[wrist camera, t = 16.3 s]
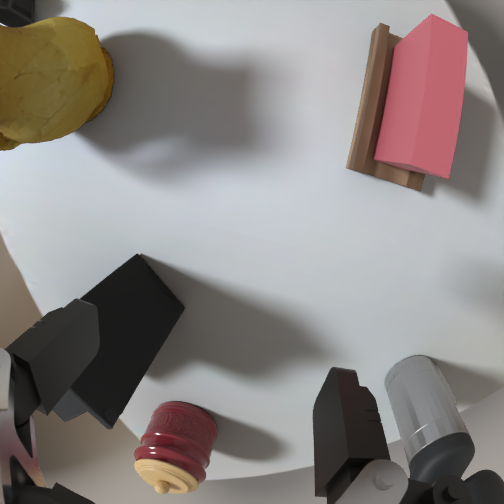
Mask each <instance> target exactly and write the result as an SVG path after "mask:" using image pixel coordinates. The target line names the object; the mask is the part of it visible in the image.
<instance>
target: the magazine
mask: <svg viewBox="0 0 504 504" xmlns="http://www.w3.org/2000/svg"><path fill="white" fill-rule="evenodd" d="M33 6H34V0H0V23H2V24H4V25H6V26H8V27H12V28H17V27H24V26H27V25H31V24H33V23H34V21H33Z"/></svg>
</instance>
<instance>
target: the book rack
mask: <svg viewBox="0 0 504 504" xmlns="http://www.w3.org/2000/svg"><path fill="white" fill-rule="evenodd" d="M389 27H390V26H388V25H385V24H382V23H380V24H379V25H378V26H377V28H375V29H374V30H373V32H372V37H371V44H370V50H369V56H368V62H367V68H366V74H365V79H364V85H363V90H362V95H361V101H360V106H359V111H358V116H357V120H356V125H355V130H354V134H353V139H352V143H351V148H350V152H349V157H348V161H347V165H346V168H348V169H351V170H355V171H358V172H362V173H365V174H368V175H372V176H375V177H378V178H382V179H385V180H388V181H391V182H394V183H397V184H400V185H403V186H406V187H409V188H412V189H415V190H418V191H421V187H422V183H423V179H424V175H425V174H424V173H419V172H415V171H410V170H405V169H401V168H398V167H395V166H392V165H389V164H386V163H383V162H380V161H376V160H373V159H372V158H373V153H374V149H375V144H376V140H377V135H378V130H379V126H380V121H381V116H382V111H383V105H384V100H385V94H386V89H387V83H388V77H389V71H390V64H391V57H392V50H393V48H394V47H395V46H396V45H397V44H398V43H399V42H400V41H401V40H402V39H403V38H401V37H398V36H396V35H393V34H390V33H389Z"/></svg>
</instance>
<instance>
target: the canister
mask: <svg viewBox="0 0 504 504" xmlns="http://www.w3.org/2000/svg"><path fill="white" fill-rule="evenodd" d="M216 437H217V426H216V423H215V421H214V420H213V418H212V417H211V416H210V415H209V414H208V413H206V412H205V411H203V410H202V409H200V408H198V407H196V406H194V405H191V404H188V403H184V402H177V401H171V402H165V403H163V404H161V405H160V406H159V407H158V408H157V409H156V410H155V411H154V413H153V415H152V417H151V421H150V423H149V425H148V427H147V429H146V432H145V434H144V435H143V436H142V438H141V446H140V447H138V448H137V449H136V450H135V453H134V455H135V459H136V462H135V465H134V467H135V470H136V471H137V473H138V474H139V475H140V476H141V477H142V479H143V480H144V481H145V482H147V483H148V484H149V485H151V486H153V487H154V489H155V490H156V492H158V493H159V494H166V493H168V492H169V493H174V494H183V493H187V492H192V491H195V490H196V489H197V488H198V484H199V483H201V482H203V481H204V480H205V479H206V472H205V469H206V468H207V467H208V466H209V463H210V456H211V452H212V448H213V445H214V442H215V440H216Z"/></svg>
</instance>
